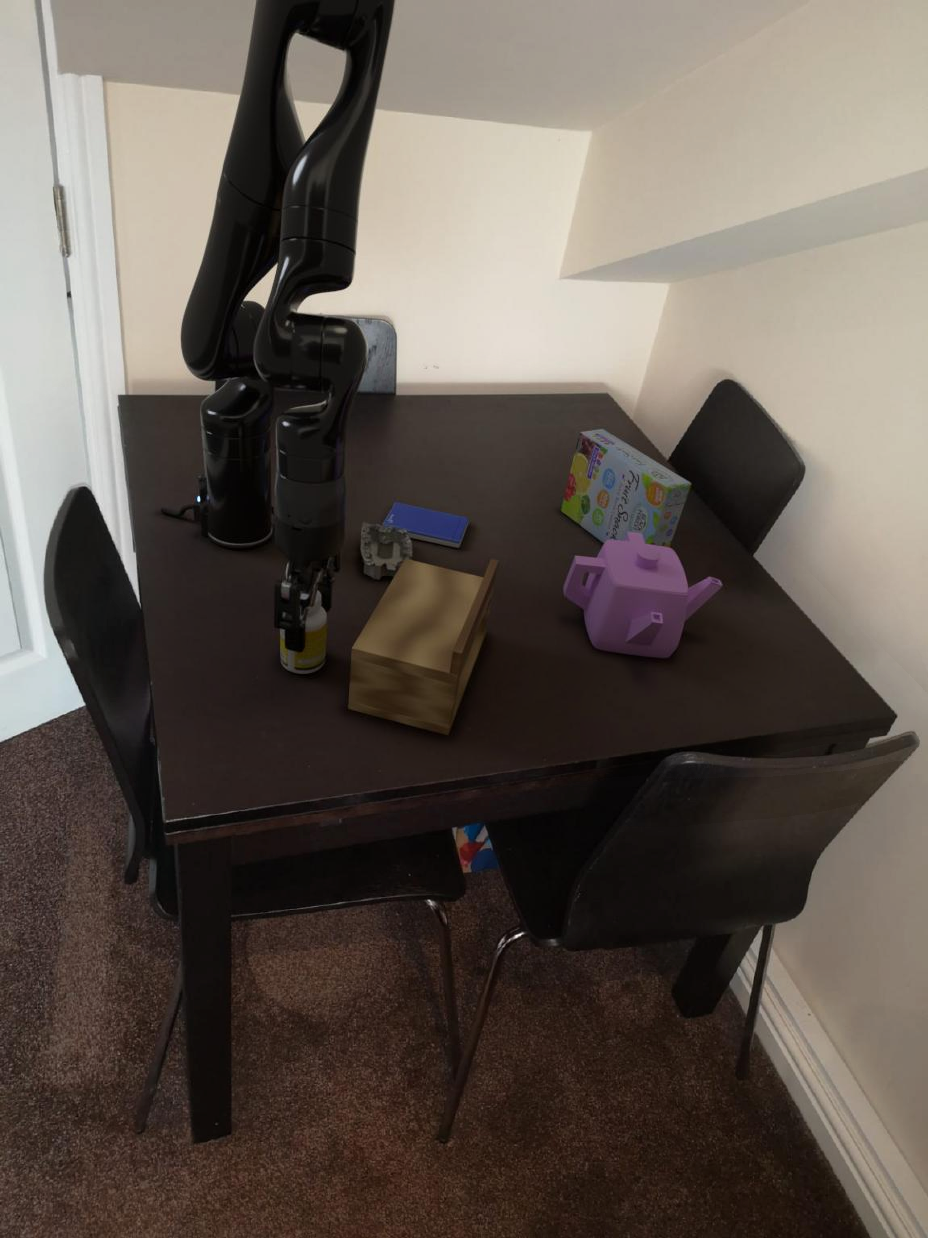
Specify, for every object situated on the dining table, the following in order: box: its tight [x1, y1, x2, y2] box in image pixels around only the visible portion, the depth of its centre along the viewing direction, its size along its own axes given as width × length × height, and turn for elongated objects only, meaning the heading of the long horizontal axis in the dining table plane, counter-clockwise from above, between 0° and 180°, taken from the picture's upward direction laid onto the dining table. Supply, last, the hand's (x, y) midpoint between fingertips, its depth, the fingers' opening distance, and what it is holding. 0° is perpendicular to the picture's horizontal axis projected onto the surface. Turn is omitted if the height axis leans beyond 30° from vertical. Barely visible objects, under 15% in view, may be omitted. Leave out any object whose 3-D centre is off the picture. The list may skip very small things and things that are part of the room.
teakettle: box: [562, 531, 723, 659], centre depth 109 cm, size 17×17×12 cm
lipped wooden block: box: [347, 558, 500, 736], centre depth 95 cm, size 12×20×12 cm, turn 167°
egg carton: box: [360, 521, 413, 580], centre depth 117 cm, size 11×8×4 cm
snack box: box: [560, 428, 692, 548], centre depth 128 cm, size 21×6×15 cm, turn 33°
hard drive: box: [381, 502, 470, 549], centre depth 127 cm, size 2×8×12 cm
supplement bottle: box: [279, 590, 328, 675], centre depth 94 cm, size 5×5×10 cm
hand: (308, 628), depth 94 cm, fingers open, 8 cm apart
